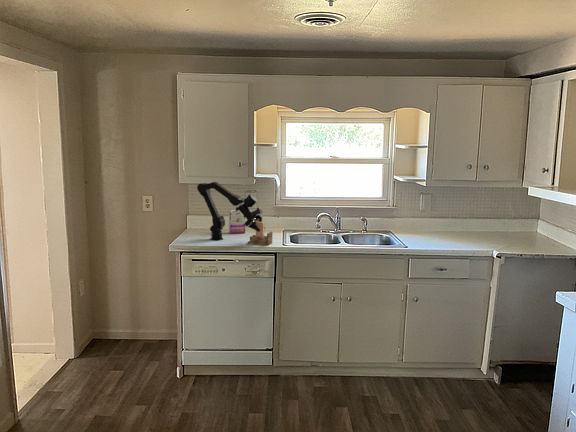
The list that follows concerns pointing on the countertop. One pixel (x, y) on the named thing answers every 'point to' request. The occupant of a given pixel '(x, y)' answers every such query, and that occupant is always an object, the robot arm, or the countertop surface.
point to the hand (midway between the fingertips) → (262, 230)
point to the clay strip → (261, 227)
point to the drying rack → (261, 239)
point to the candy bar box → (236, 222)
